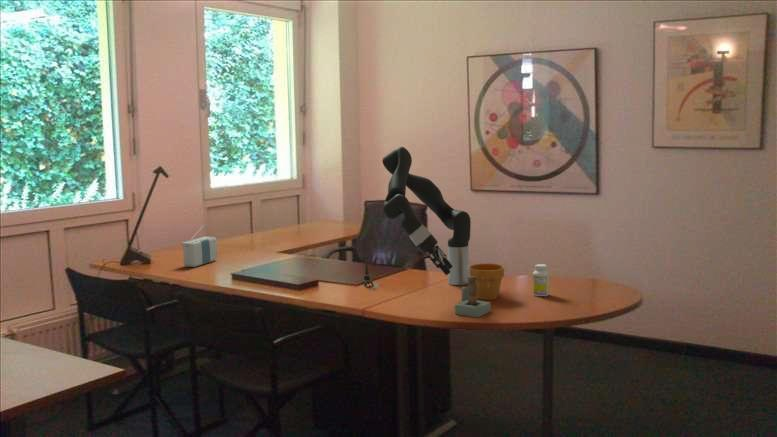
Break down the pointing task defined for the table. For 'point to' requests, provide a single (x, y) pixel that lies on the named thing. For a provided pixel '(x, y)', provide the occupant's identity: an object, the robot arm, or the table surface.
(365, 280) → the eiffel tower figurine
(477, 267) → the flower pot
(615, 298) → the table surface
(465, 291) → the short grey peg
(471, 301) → the walnut peg
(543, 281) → the supplement bottle
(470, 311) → the hole block
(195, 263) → the stereo radio cassette player
